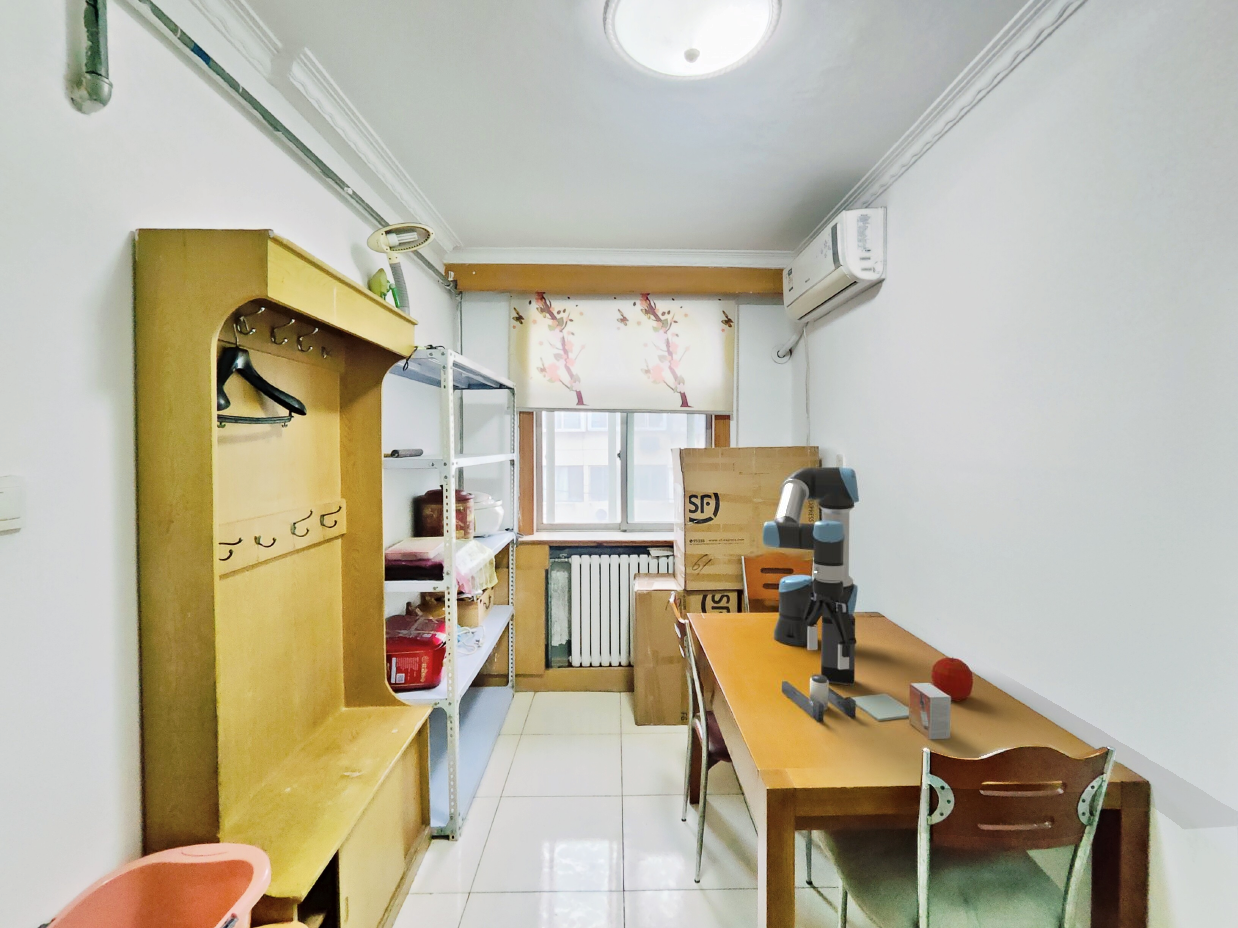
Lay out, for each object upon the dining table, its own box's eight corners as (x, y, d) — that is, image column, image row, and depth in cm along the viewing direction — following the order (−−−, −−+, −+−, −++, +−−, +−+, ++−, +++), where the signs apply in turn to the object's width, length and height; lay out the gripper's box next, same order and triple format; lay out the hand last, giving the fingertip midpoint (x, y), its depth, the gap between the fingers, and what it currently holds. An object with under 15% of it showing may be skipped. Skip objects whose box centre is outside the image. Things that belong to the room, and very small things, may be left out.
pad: (848, 699, 151) (848, 697, 151) (885, 695, 153) (885, 693, 153) (878, 720, 139) (878, 718, 139) (917, 715, 142) (917, 713, 142)
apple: (952, 687, 159) (953, 648, 158) (982, 703, 149) (983, 661, 148) (923, 690, 156) (923, 651, 156) (951, 706, 147) (952, 665, 146)
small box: (908, 723, 138) (908, 682, 138) (929, 722, 138) (929, 681, 138) (928, 740, 130) (929, 697, 130) (950, 738, 130) (951, 696, 130)
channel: (781, 691, 156) (781, 676, 156) (815, 687, 158) (815, 672, 158) (818, 722, 138) (818, 705, 138) (855, 717, 141) (855, 700, 141)
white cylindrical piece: (805, 702, 149) (806, 673, 149) (821, 701, 150) (822, 672, 150) (815, 710, 144) (816, 681, 144) (831, 709, 145) (832, 680, 145)
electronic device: (853, 678, 165) (854, 613, 164) (854, 686, 159) (855, 619, 159) (820, 674, 168) (821, 610, 167) (821, 682, 162) (822, 616, 162)
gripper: (790, 570, 154) (789, 643, 155) (845, 591, 130) (844, 678, 130) (813, 568, 156) (812, 641, 156) (872, 590, 132) (871, 676, 132)
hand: (827, 658), depth 143 cm, fingers open, 13 cm apart
